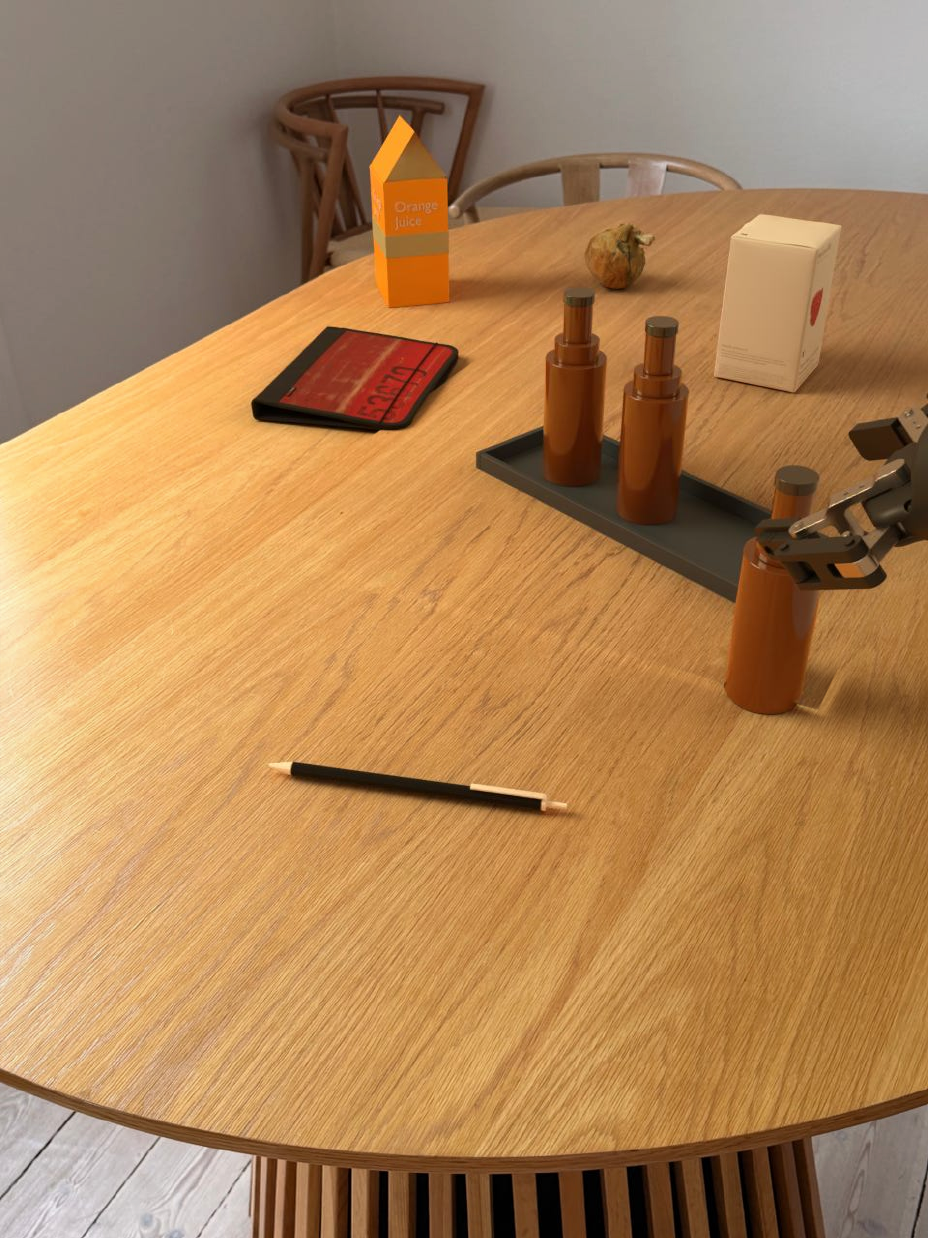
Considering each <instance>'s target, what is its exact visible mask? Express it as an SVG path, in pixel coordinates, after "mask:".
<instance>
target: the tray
mask: <svg viewBox="0 0 928 1238" xmlns="http://www.w3.org/2000/svg"><path fill="white" fill-rule="evenodd" d="M543 427H544V425H541V426H539V427H536V428H534V429H532V430H529V431H526V432H524V433H521V434H518V435H516V436H513V437H511V438H508V439H506V440H504V441H501V442H499V443H496V444H494V445H491V446H489V447H486V448H483V449H481V450H477V451H476V452H475V468H476V469H478V470H480V471H481V472H483V473H485V474H487V475H488V476H491V477H493V478H495V479H496V480H499V481H500V482H502V483H505V484H506V485H508V486H510V487H512V488H514V489H516V490H518V491H519V492H521V493H524V494H526V495H527V496H529V497H531V498H533V499H534V500H537V501H539V502H541V503H543V504H544V505H546V506H548V507H550V508H551V509H554V510H556V511H557V512H560V513H561V514H564V515H565V516H568V517H569V518H571V519H573V520H575V521H577V522H579V523H581V524H583V525H584V526H586V527H588V528H590V529H592V530H594V531H596V532H598V533H600V534H602V535H604V536H606V537H607V538H609V539H611V540H613V541H615V542H616V543H619V544H620V545H623V546H624V547H626V548H628V549H630V550H632V551H633V552H636V553H638V554H639V555H642V556H644V557H645V558H647V559H649V560H650V561H651V560H652V561H653V562H655V563H656V564H658V565H661V566H663V567H665V568H666V569H669V570H671V571H672V572H674V573H676V574H678V575H680V576H681V577H684V578H685V579H687V580H689V581H691V582H693V583H695V584H697V585H699V586H700V587H702V588H704V589H705V590H709V591H711V592H712V593H714V594H716V595H717V596H720V597H721V598H724V599H726V600H727V601H729V602H731V603H733V604H734V605H735V604H736V597H737V589H738V582H739V575H740V568H741V561H742V553H743V548H744V546H745V544H746V543H747V542H748V541H749V540H751V539H752V538H754V537H756V534H755V533H754V528H755V527H756V526H757V525H758V524H759V523H760V522H761V521H762V520H767V519H770V518H771V512H772V509H769V508H767V507H765V506H762V505H760V504H758V503H756V502H753V501H751V500H749V499H747V498H744V497H742V496H740V495H739V494H736V493H733V492H732V491H729V490H727V489H725V488H723V487H720V486H718V485H716V484H715V483H711V482H710V481H708V480H705V479H704V478H701V477H698V476H695V475H694V474H692V473H690V472H687V471H685V470H683V469H681V479H680V488H679V498H678V508H677V514H676V516H675V517H674V518H673V519H672V520H670V521H668V522H666V523H663V524H657V525H641V524H636V523H632V522H629V521H627V520H625V519H623V518H621V517H620V516H619V515H618V514H617V512H616V509H615V506H616V492H617V477H618V462H619V448H620V440H617V439H615V438H613V437H610V436H608V435H606V434H603V439H602V456H601V473H600V477H599V478H598V480H596V481H595V482H593V483H591V484H589V485H585V486H579V487H567V486H560V485H556V484H554V483H551V482H549V481H548V480H546V479H545V478H544V476H543V474H542V461H543ZM818 533H819V535H820V537H821V538H827V537H830V536H829V535H826V534H824V533H822V532H821V531H818Z"/></svg>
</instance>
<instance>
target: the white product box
mask: <svg viewBox="0 0 928 1238" xmlns="http://www.w3.org/2000/svg"><path fill="white" fill-rule="evenodd" d="M841 232H842V225H841V224H835V223H829V222H822V221H813V220H805V219H798V218H791V217H787V216H786V217H785V216H778V215H771V214H764V213H763V214H762V213H759V214H758V215H757V216H755V217H754V218H753V219H752V220H751V221H749V222H747V223H745V224H744V225H743V226H742V228H740V229H738V230H737V231H736V232H735V233H734V234H732V235H731V236H730V244H729V253H728V259H727V268H726V276H725V284H724V291H723V299H722V306H721V307H722V308H721V314H720V315H721V316H720V323H719V331H718V337H717V338H718V339H717V347H716V356H715V363H714V370H713V371H714V372H713V377H714V378H715V377H716V378H720V379H725V380H730V381H735V382H741V383H746V384H749V385H755V386H760V387H764V388H769V389H774V390H779V391H784V392H788V393H796V391H797V390H798V389H799V388H800V387H801V386H802V385H803V383H804V382H805V381H806V380H807V379H808V378H809V376H810V375H811V374H813V372H814V371H815V369H816V368H817V367H818V365H819V362H820V358H821V357H820V356H821V350H822V345H823V340H824V333H825V327H826V322H827V316H828V311H829V305H830V299H831V292H832V286H833V279H834V274H835V268H836V262H837V255H838V250H839V243H840V238H841Z"/></svg>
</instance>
